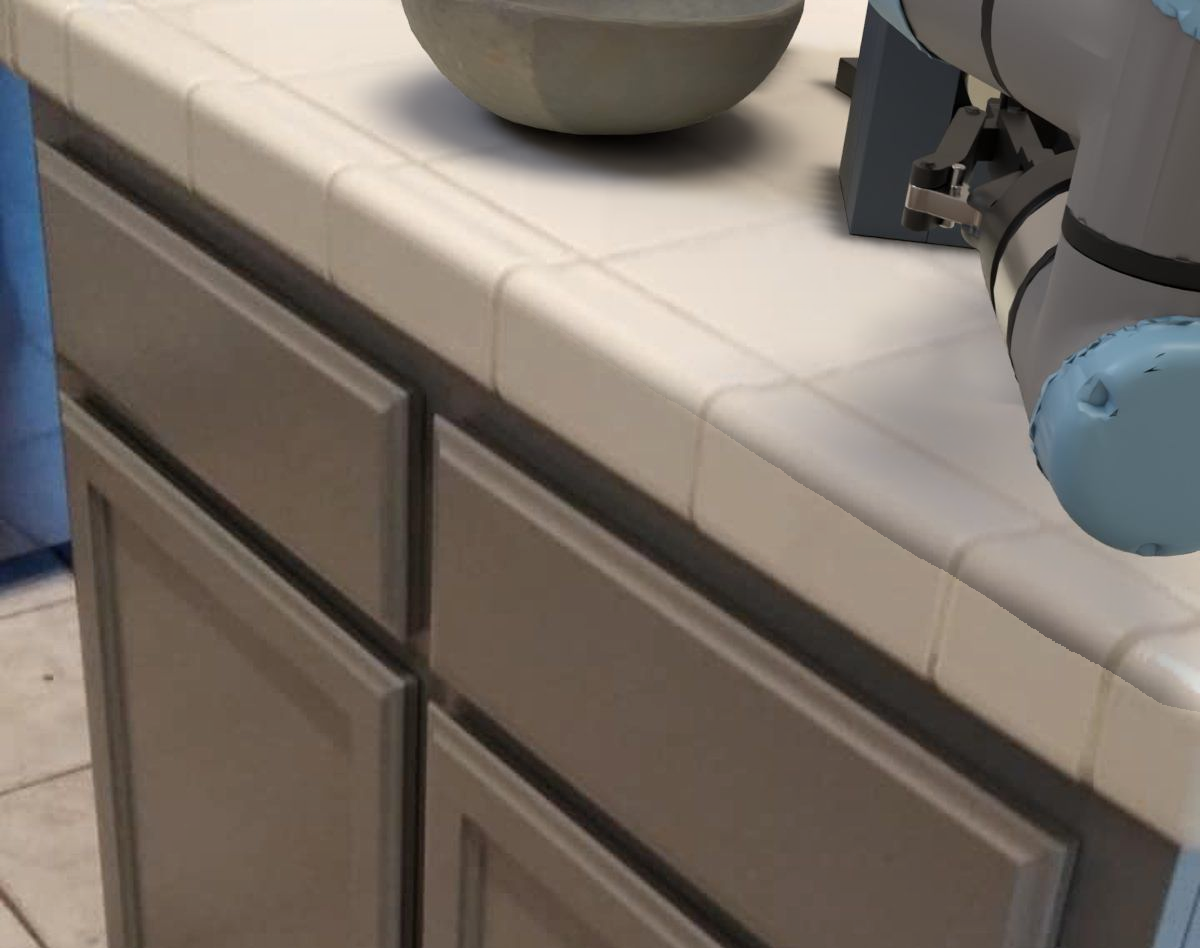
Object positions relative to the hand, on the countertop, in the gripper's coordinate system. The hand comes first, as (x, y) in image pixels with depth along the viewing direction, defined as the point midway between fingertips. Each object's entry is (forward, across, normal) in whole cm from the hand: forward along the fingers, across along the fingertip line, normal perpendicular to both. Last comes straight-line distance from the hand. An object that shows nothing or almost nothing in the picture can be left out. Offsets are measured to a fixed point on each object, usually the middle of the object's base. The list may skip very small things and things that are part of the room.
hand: (1016, 96), depth 92 cm
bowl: (+17, -20, -8) cm, 27 cm away
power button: (+4, 0, -2) cm, 5 cm away
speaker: (+8, 0, -8) cm, 11 cm away
